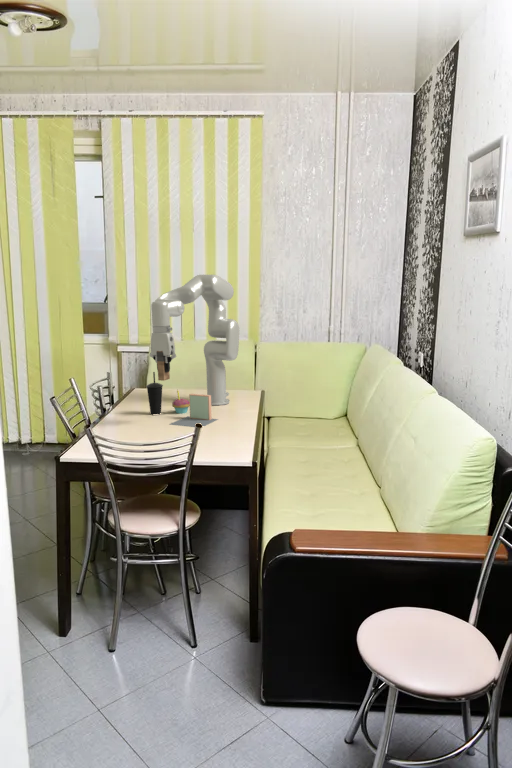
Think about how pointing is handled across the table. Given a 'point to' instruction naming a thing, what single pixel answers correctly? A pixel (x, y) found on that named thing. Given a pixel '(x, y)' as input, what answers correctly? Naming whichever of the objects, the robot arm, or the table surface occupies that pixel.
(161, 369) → the banded brown box
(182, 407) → the cupcake
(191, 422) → the mat
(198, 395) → the tile
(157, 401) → the drinking cup
